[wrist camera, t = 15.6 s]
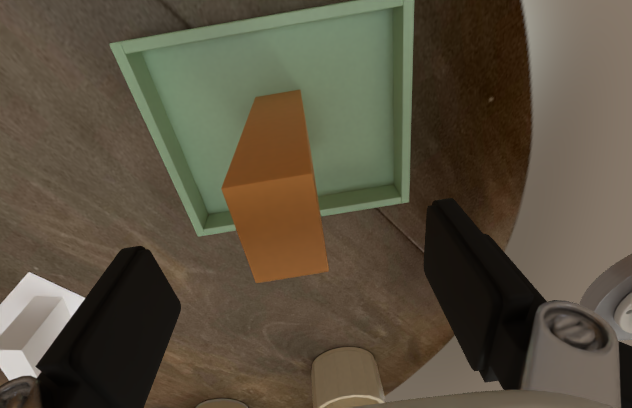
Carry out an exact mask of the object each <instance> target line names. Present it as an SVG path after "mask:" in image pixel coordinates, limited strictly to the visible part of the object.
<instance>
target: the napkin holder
mask: <svg viewBox="0 0 632 408" xmlns="http://www.w3.org/2000/svg"><path fill="white" fill-rule="evenodd" d="M84 299H85V298H84V297H82V296H80V295H78V294H76V293H74V292H71V291H69V290H67V289H65V288H63V287H61V286H58V285H56V284H54V283H52V282H50V281H48V280H46V279H43V278H41V277H39V276H37V275H35V274H33V273H31V272H28V273H27V275H26V276H25V277H24V278H23V279H22V280H21V281H20V283H19V284H18V285H17V286H16V287H15V288H14V290H13V291H12V292H11V293H10V294H9V295H8V296H7V298H6V299H5V300H4V301H3V302H2V303H1V304H0V368H1V369H2V371H3V372H4V374H5V375H6V377H7V378H8V379H9V381H10V380H12V379H15V378H18V377H21V376H33V377H35V378H37V377H38V376H39V374H40V373H41V371H40V370H39V369H38V368H36V367H35V366H36V365H37V364H38V362H39V361H40V359H41V358H42V357H43V355H44V354H45V353H46V351H47V350H48V349H49V347H50V346H51V344H52V343H53V342H54V340H55V339H56V338H57V336H58V335H59V333H60V332H61V331H62V329H63V328H64V327H65V325H66V324H67V323H68V321H69V320H70V318H71V317H72V316H73V314H74V313H75V312H76V310H77V309H78V308H79V306H80V305H81V303H82V302H83V301H84Z"/></svg>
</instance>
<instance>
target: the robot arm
mask: <svg viewBox="0 0 632 408" xmlns="http://www.w3.org/2000/svg"><path fill="white" fill-rule="evenodd" d="M424 272H425V275H426V277H427V279H428V281H429V283H430V285H431V287H432V289H433V291H434V293H435V295H436V297H437V299H438V302H439V304H440V306H441V308H442V310H443V312H444V314H445V316H446V318H447V320H448V322H449V324H450V326H451V328H452V330H453V332H454V334H455V336H456V338H457V340H458V342H459V344H460V346H461V348H462V350H463V352H464V354H465V356H466V358H467V360H468V362H469V364H470V366H471V368H472V369H473V370H474V371H479V372H480V374H481V376H482V378H483V380H484V382H491V381H499V382H500V384H501V386H502V388H503V389H504V390H501V391H485V392H484V391H483V392H472V393H463V394H454V395H444V396H437V397H436V396H435V397H427V398H417V399H409V400H401V401H394V402H386V403H378V404H371V405H363V406H355V407H347V408H632V346H629V345H627V344H624V343H622V342H619V341H618V338H617V335H616V332H615V331H614V329H613V328H612V327H611V325H610V324H609V323H608V322H607V321H606V320H605V319H604V318H602V317H601V316H600V315H599V314H597V313H595V312H594V311H592V310H590V309H589V308H586V307H584V306H582V305H579V304H576V303H572V302H568V301H558V300H553V301H549V302H547V301H546V300H545V299H544V298H543V297H542V296H541V294H540V293H539V292H538V291H537V290H536V289H535V288H534V286H533V285H532V284H531V283H530V282H529V281H528V279H527V278H526V277H525V276H524V275H523V274H522V272H521V271H520V270H519V269H518V268H517V267H516V265H515V264H514V263H513V262H512V261H511V260H510V259H509V257H508V256H507V255H506V254H505V253H504V252H503V250H502V249H501V248H500V247H499V246H498V245H497V244H496V242H495V241H494V240H493V239H492V238H491V237H490V236H489V235H487V234H483V233H482V232H481V231H480V230H479V228H478V227H477V226H476V225H475V224H474V223H473V221H472V220H471V219H470V218H469V217H468V215H467V214H466V213H465V212H464V211H463V210H462V208H461V207H460V206H459V205H458V204H457V202H456V201H455V200H454V199H453V198H448V199H442V200H435V201H433V203H432V206H428V208H427V218H426V234H425V251H424ZM180 311H181V304H180V301H179V299H178V298H177V296H176V294H175V293H174V291H173V289H172V287H171V286H170V284H169V282H168V280H167V279H166V277H165V275H164V274H163V272H162V270H161V268H160V267H159V265H158V263H157V262H156V260H155V258H154V256H153V255H152V253H151V252H150V250H148V249H145V248H144V247H142V246H136V247H130V248H124V249H122V250H121V251H120V252H119V253H118V254H117V256H116V257H115V258H114V260H113V261H112V262H111V264H110V265H109V267H108V268H107V269H106V271H105V272H104V273H103V275H102V276H101V277H100V279H99V280H98V282H97V283H96V284H95V286H94V287H93V288H92V290H91V291H90V293H89V294H88V295H87V297H86V298H85V299H84V301H83V302H82V303H81V305H80V306H79V308H78V309H77V310H76V312H75V313H74V314H73V316H72V317H71V318H70V320H69V321H68V323H67V324H66V325H65V327H64V328H63V329H62V331H61V332H60V333H59V335H58V336H57V338H56V339H55V340H54V342H53V343H52V344H51V346H50V347H49V349H48V350H47V351H46V353H45V354H44V355H43V357H42V358H41V359H40V361H39V362H38V364H37V365H36V366H35V367H36V368H38V369H39V370H40V371H41V373H40V374H39V376H38V377H37V378H35V377H33V376H21V377H18V378H15V379H12V380H10V381H8V382H7V383H5V384H3V385H1V386H0V408H144V405H145V403H146V400H147V397H148V395H149V392H150V390H151V387H152V384H153V382H154V379H155V377H156V374H157V371H158V369H159V366H160V364H161V361H162V358H163V356H164V353H165V350H166V348H167V345H168V343H169V340H170V337H171V335H172V332H173V330H174V327H175V324H176V322H177V319H178V317H179V314H180ZM614 320H615V323H616V324H617V325H618V326H619V327H620V328H621V329H622V330H624V331H625V332H628V333H632V292H631V293H629V294H628V295H627V296H626V297H625V298H624V299H623V300H622V301H621V302H620V304H619V305H618V307H617V308H616V311H615V313H614Z"/></svg>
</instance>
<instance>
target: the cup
mask: <svg viewBox="0 0 632 408" xmlns="http://www.w3.org/2000/svg"><path fill="white" fill-rule="evenodd" d="M311 379H312V396H313V408H347V407H355V406H363V405H371V404H378V403H386V401H385V397H384V393H383V388H382V384H381V380H380V376H379V372H378V368H377V364H376V361H375V358H374V356H373V355H372V354H371V353H370V352H368V351H367V350H364V349H361V348H357V347H341V348H336V349H332V350H329V351H327V352H324V353H323V354H321V355H320V356H318V357H317V358H316V359H315V360H314V362H313V363H312V367H311Z"/></svg>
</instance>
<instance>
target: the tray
mask: <svg viewBox="0 0 632 408" xmlns="http://www.w3.org/2000/svg"><path fill="white" fill-rule="evenodd" d="M413 31H414V0H352V1H346V2H341V3H335V4H329V5H323V6H318V7H312V8H306V9H301V10H295V11H289V12H283V13H278V14H272V15H266V16H261V17H255V18H249V19H243V20H238V21H232V22H226V23H221V24H215V25H209V26H204V27H198V28H192V29H186V30H181V31H175V32H169V33H164V34H158V35H152V36H146V37H141V38H135V39H129V40H124V41H119V42H114V43H110V44H109V45H110V47H111V50H112V52H113V54H114V56H115V58H116V60H117V63H118V65H119V67H120V69H121V71H122V73H123V76H124V78H125V80H126V82H127V84H128V86H129V88H130V91H131V93H132V95H133V97H134V99H135V101H136V104H137V106H138V108H139V110H140V112H141V114H142V117H143V119H144V121H145V123H146V125H147V127H148V129H149V132H150V134H151V136H152V138H153V140H154V142H155V145H156V147H157V149H158V151H159V153H160V155H161V158H162V160H163V162H164V164H165V166H166V168H167V171H168V173H169V175H170V177H171V179H172V181H173V183H174V186H175V188H176V190H177V192H178V194H179V196H180V199H181V201H182V203H183V205H184V207H185V209H186V212H187V214H188V216H189V218H190V220H191V222H192V224H193V227H194V229H195V231H196V233H197V235H198V236H205V235H211V234H217V233H223V232H229V231H235V230H236V228H235V225H234V222H233V219H232V217H231V214H230V211H229V209H228V206H227V203H226V200H225V198H224V195H223V192H222V190H221V188H222V185H223V182H224V180H225V177H226V174H227V172H228V169H229V166H230V164H231V161H232V158H233V156H234V153H235V150H236V148H237V145H238V142H239V140H240V137H241V134H242V132H243V129H244V126H245V124H246V121H247V118H248V116H249V113H250V110H251V108H252V105H253V102H254V100H255V97H259V96H265V95H271V94H276V93H282V92H288V91H294V90H301V96H302V101H303V107H304V113H305V119H306V125H307V131H308V137H309V143H310V149H311V156H312V162H313V169H314V175H315V182H316V188H317V195H318V202H319V208H320V215H321V216H327V215H333V214H339V213H345V212H351V211H358V210H364V209H370V208H376V207H382V206H388V205H394V204H401V203H406V202H409V184H410V146H411V108H412V69H413Z"/></svg>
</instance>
